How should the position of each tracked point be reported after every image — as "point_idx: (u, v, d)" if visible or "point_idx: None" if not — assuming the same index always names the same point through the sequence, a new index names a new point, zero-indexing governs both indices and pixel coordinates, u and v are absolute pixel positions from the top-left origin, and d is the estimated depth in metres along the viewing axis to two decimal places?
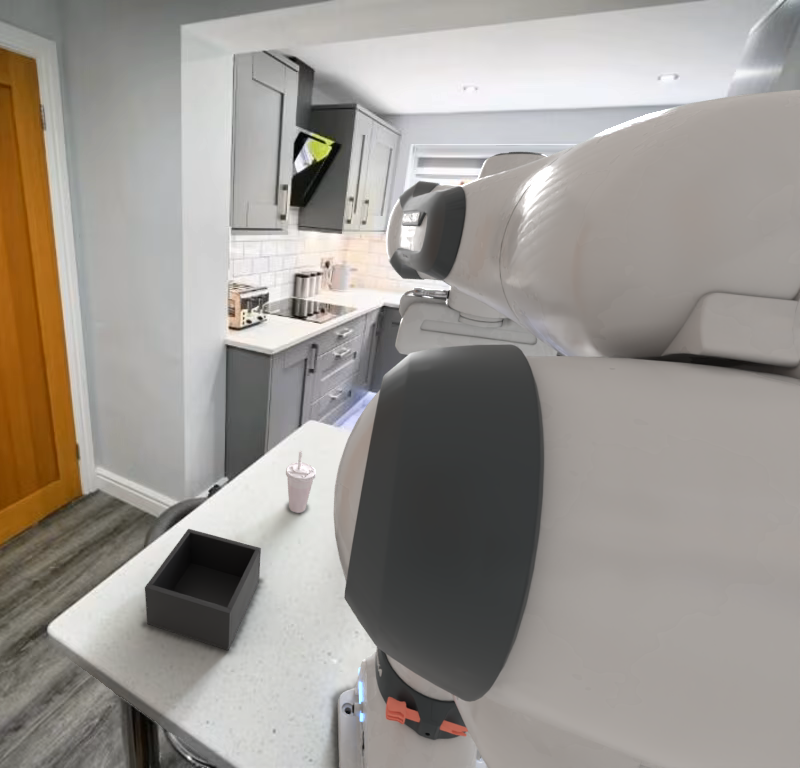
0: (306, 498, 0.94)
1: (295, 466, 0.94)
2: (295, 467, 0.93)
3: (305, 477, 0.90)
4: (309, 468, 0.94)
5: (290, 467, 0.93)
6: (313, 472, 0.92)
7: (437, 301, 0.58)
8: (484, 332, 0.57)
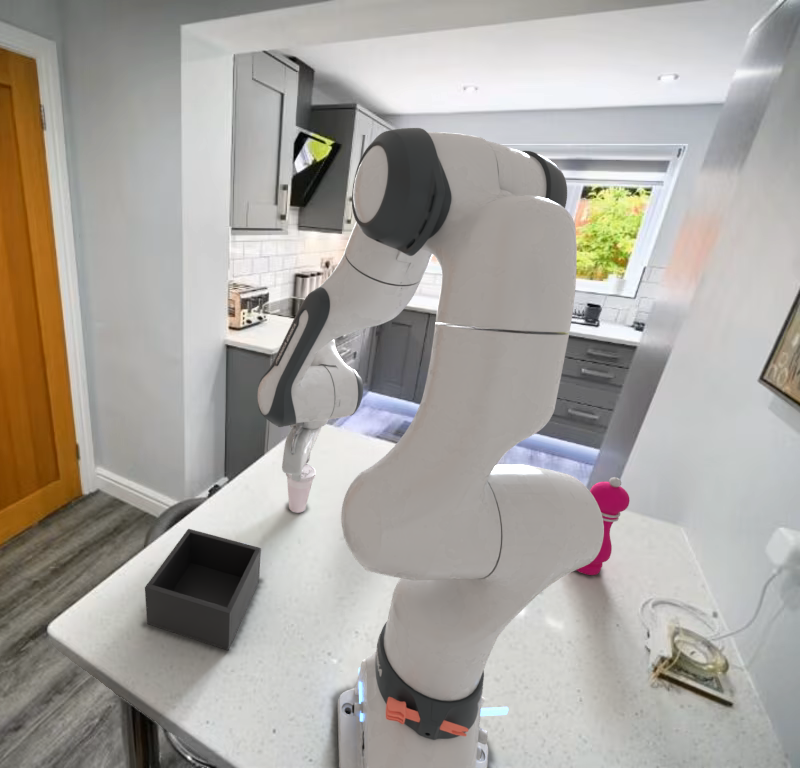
0: (306, 498, 0.94)
1: None
2: None
3: (305, 477, 0.90)
4: (309, 468, 0.94)
5: None
6: (313, 472, 0.92)
7: (301, 430, 0.83)
8: None
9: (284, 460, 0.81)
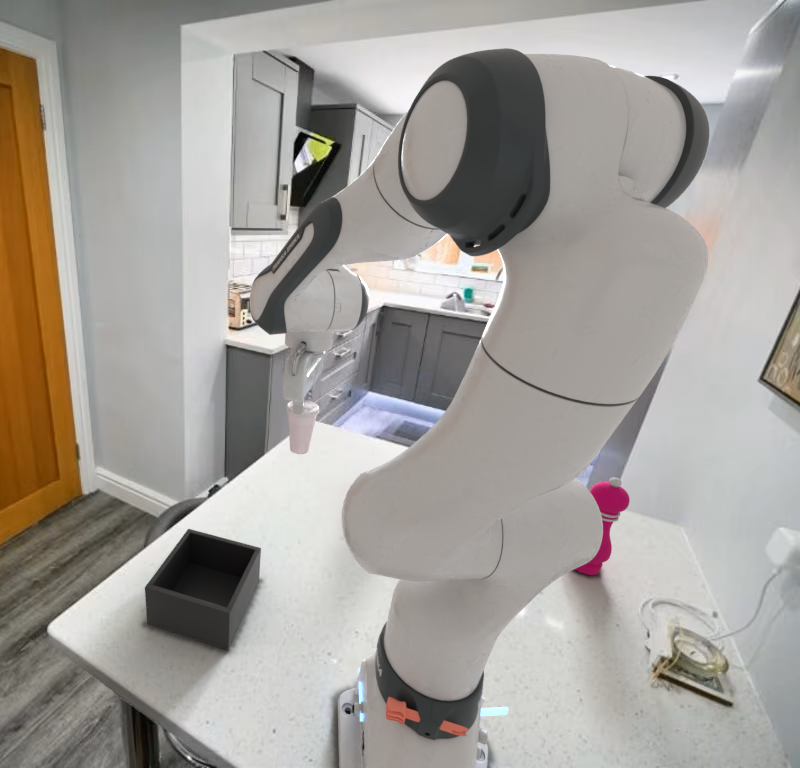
0: (309, 437, 0.85)
1: None
2: None
3: (307, 411, 0.82)
4: (312, 404, 0.85)
5: (291, 403, 0.85)
6: (316, 407, 0.84)
7: (303, 352, 0.75)
8: (316, 359, 0.82)
9: (284, 383, 0.73)
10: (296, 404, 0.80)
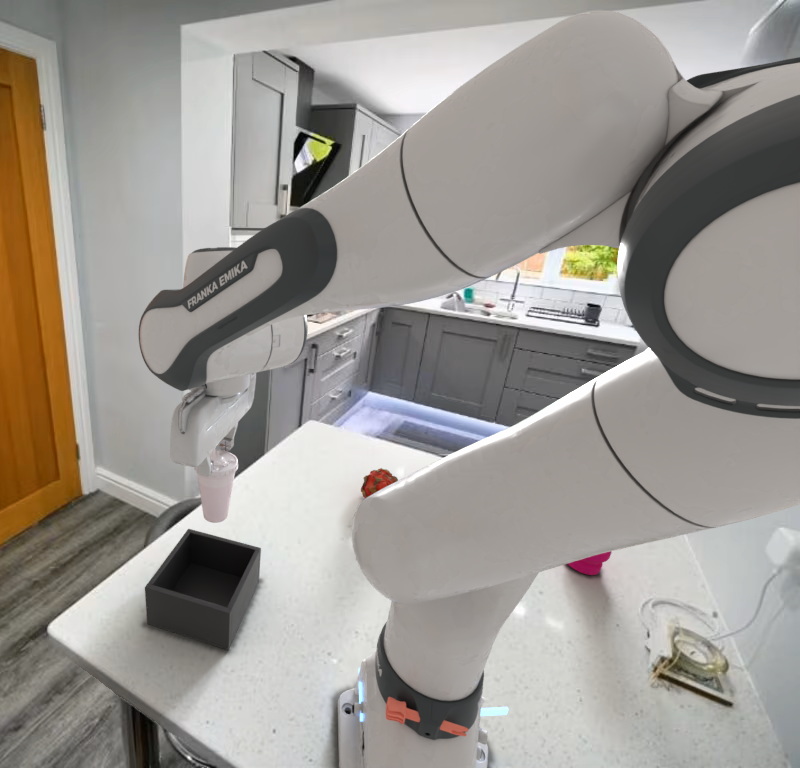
0: (225, 502, 0.65)
1: None
2: None
3: (219, 470, 0.61)
4: (229, 458, 0.65)
5: None
6: (233, 463, 0.63)
7: (201, 397, 0.54)
8: (230, 401, 0.61)
9: (172, 443, 0.52)
10: (200, 464, 0.59)
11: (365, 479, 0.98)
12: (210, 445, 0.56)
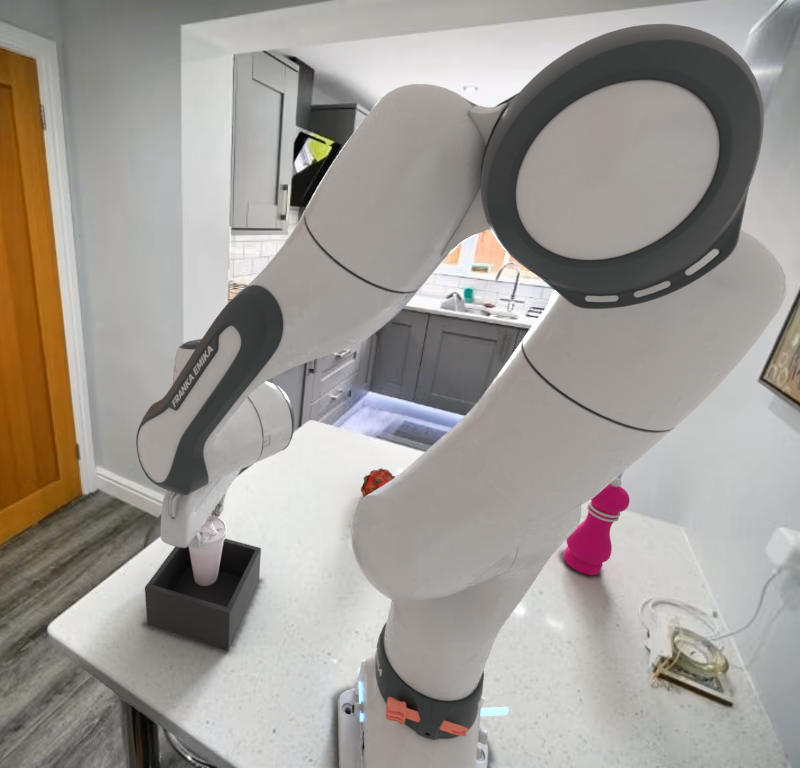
0: (214, 567, 0.67)
1: None
2: None
3: (208, 540, 0.64)
4: (219, 525, 0.67)
5: None
6: (222, 531, 0.66)
7: None
8: None
9: (162, 526, 0.55)
10: None
11: (365, 479, 0.98)
12: (199, 523, 0.58)
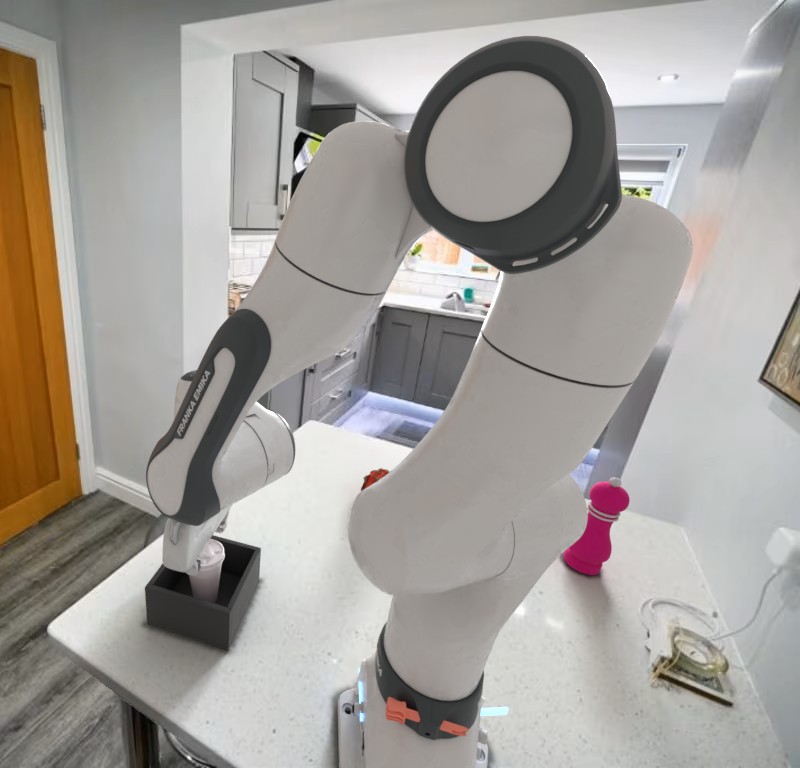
0: (213, 589, 0.69)
1: None
2: None
3: (206, 563, 0.66)
4: (216, 548, 0.69)
5: None
6: (220, 554, 0.68)
7: None
8: None
9: (164, 552, 0.56)
10: None
11: (365, 479, 0.98)
12: (200, 548, 0.60)
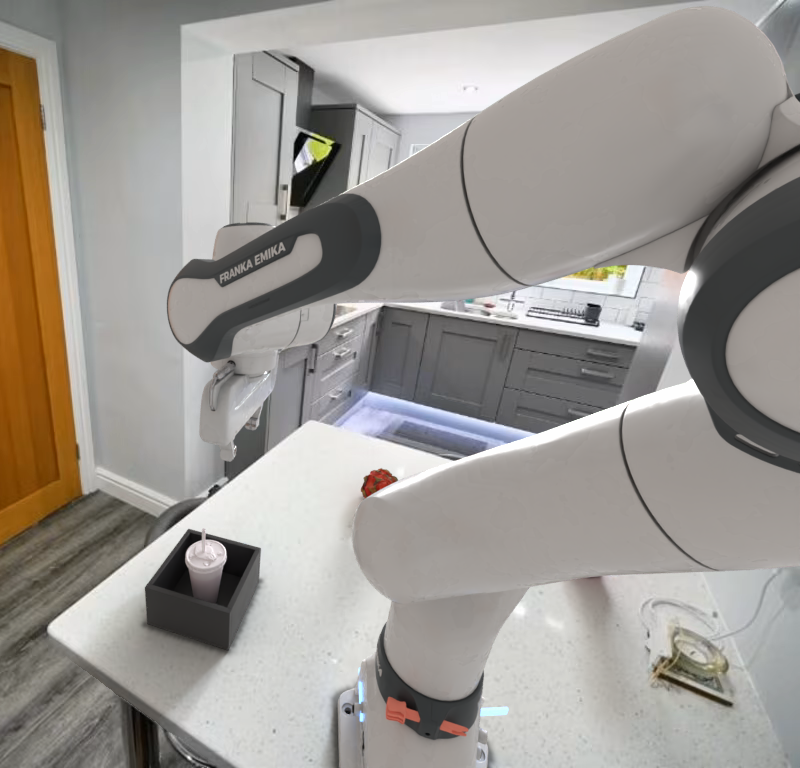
0: (214, 591, 0.69)
1: (199, 547, 0.69)
2: (199, 549, 0.69)
3: (208, 566, 0.66)
4: (218, 550, 0.69)
5: (193, 548, 0.69)
6: (222, 557, 0.68)
7: (230, 375, 0.53)
8: (255, 382, 0.60)
9: (201, 421, 0.52)
10: (223, 448, 0.57)
11: (365, 479, 0.98)
12: (238, 424, 0.55)
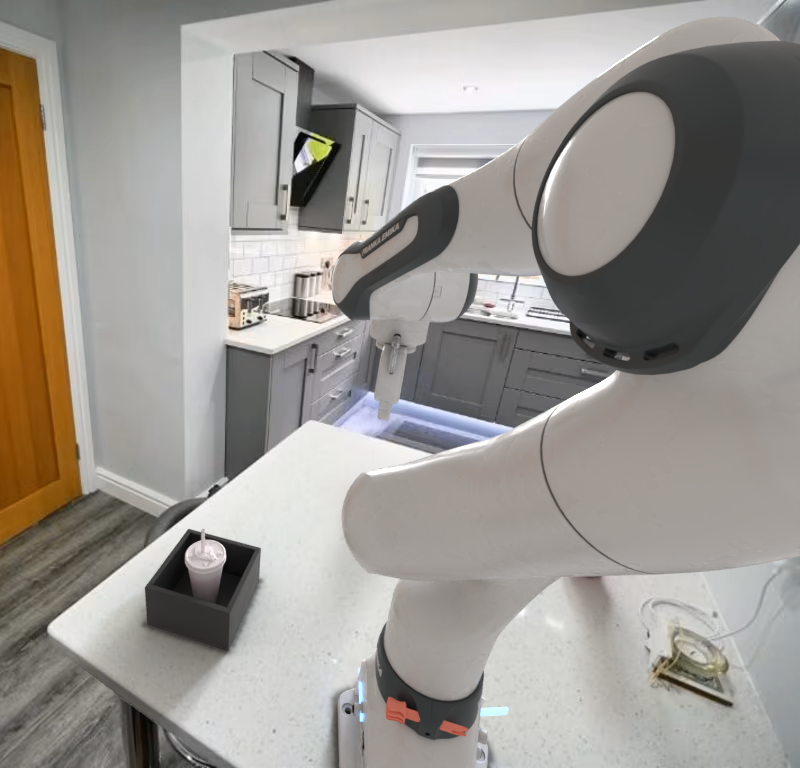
0: (214, 591, 0.69)
1: (199, 547, 0.69)
2: (198, 549, 0.69)
3: (207, 566, 0.66)
4: (218, 550, 0.69)
5: (192, 548, 0.69)
6: (221, 557, 0.68)
7: None
8: None
9: (379, 382, 0.62)
10: (382, 409, 0.68)
11: None
12: None
